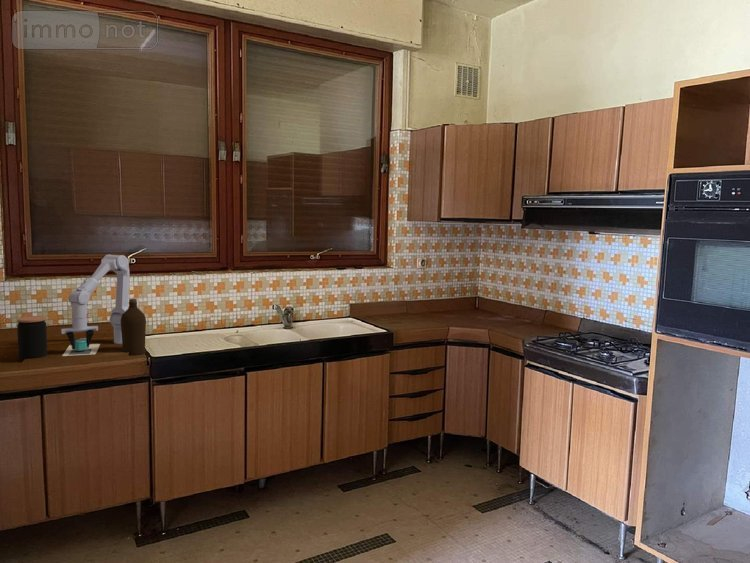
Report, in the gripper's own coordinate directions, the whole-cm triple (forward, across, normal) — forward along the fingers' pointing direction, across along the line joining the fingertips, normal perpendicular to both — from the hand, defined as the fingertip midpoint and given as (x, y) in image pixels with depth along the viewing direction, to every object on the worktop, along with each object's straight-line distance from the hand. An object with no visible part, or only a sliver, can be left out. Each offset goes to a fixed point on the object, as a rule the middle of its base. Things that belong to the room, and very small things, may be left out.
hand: (80, 348), depth 249 cm
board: (+3, -1, -5) cm, 6 cm away
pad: (+2, 0, 0) cm, 2 cm away
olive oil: (+4, -21, +7) cm, 22 cm away
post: (+2, -3, -10) cm, 10 cm away
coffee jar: (+4, +18, -3) cm, 18 cm away
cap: (0, 0, 0) cm, 1 cm away
